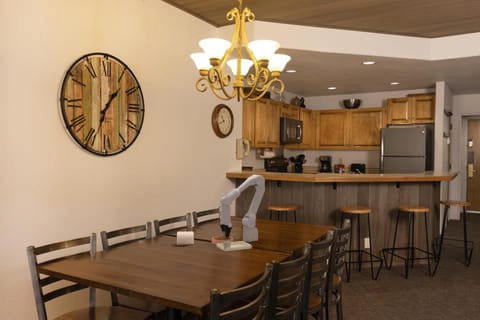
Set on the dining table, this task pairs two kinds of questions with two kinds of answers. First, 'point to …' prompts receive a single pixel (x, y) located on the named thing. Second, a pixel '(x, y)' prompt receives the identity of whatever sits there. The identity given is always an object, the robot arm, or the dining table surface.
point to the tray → (235, 246)
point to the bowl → (220, 239)
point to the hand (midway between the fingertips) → (226, 236)
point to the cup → (185, 238)
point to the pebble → (226, 244)
